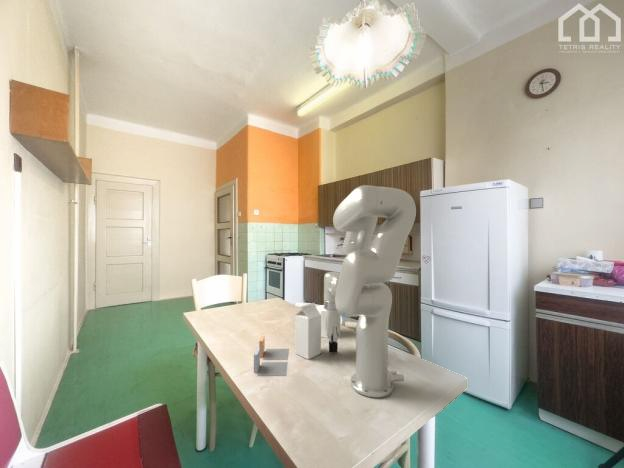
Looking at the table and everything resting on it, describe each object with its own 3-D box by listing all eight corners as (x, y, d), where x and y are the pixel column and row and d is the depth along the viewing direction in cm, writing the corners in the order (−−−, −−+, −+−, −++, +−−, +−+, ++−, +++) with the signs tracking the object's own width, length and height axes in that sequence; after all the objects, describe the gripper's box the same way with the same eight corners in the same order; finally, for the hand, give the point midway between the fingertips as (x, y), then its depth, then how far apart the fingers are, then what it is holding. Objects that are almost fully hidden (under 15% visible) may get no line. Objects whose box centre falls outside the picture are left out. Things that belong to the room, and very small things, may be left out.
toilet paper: (311, 334, 121) (311, 308, 121) (323, 328, 129) (323, 303, 129) (329, 339, 114) (329, 312, 114) (341, 332, 123) (341, 307, 123)
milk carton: (320, 353, 101) (321, 304, 101) (308, 360, 96) (308, 308, 96) (307, 348, 106) (308, 301, 106) (294, 354, 101) (295, 304, 101)
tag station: (289, 349, 105) (289, 333, 105) (285, 376, 85) (285, 357, 85) (262, 349, 105) (262, 334, 105) (252, 376, 85) (252, 357, 85)
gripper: (322, 299, 109) (322, 343, 109) (325, 310, 94) (324, 361, 94) (340, 299, 109) (340, 343, 109) (346, 310, 94) (345, 361, 94)
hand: (333, 351), depth 101 cm, fingers closed
